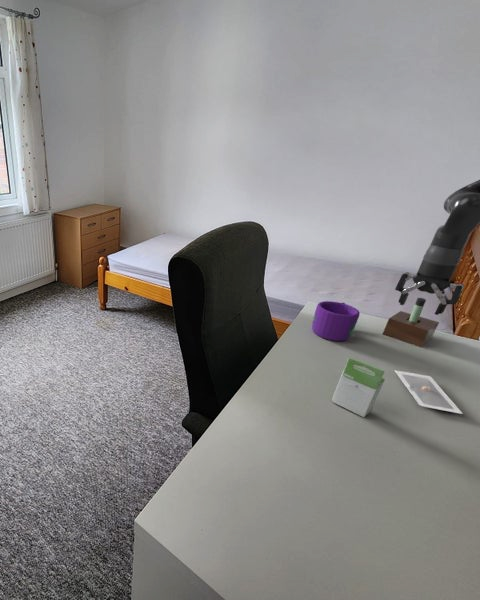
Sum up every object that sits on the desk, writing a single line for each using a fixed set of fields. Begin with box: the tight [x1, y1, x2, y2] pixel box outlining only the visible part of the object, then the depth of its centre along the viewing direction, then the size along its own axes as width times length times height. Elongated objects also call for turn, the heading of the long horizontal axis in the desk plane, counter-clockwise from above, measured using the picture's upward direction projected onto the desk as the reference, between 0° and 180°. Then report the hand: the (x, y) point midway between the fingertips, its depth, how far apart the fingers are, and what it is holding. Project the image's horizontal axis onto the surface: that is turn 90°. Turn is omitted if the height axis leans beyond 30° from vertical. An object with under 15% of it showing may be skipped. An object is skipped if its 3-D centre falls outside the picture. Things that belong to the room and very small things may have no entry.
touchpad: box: [394, 370, 464, 415], centre depth 86 cm, size 8×15×2 cm, turn 158°
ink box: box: [331, 357, 386, 418], centre depth 80 cm, size 7×4×13 cm, turn 34°
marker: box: [409, 297, 427, 323], centre depth 109 cm, size 2×2×14 cm
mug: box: [311, 300, 361, 342], centre depth 114 cm, size 17×11×10 cm, turn 134°
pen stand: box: [382, 310, 440, 348], centre depth 111 cm, size 10×10×6 cm
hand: (418, 309), depth 108 cm, fingers open, 8 cm apart
